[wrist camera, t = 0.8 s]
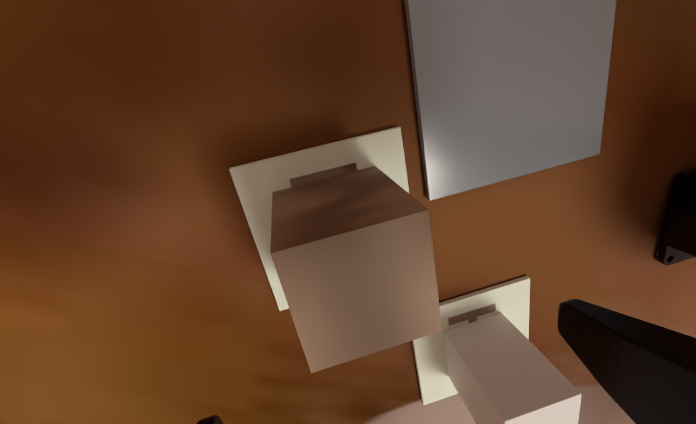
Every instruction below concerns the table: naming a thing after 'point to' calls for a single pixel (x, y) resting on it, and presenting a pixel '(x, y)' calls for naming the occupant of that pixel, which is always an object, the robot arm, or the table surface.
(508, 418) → the beige block
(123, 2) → the table surface
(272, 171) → the cream glyph tile
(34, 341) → the table surface
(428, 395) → the code tile
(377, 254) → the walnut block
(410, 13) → the slate coaster
